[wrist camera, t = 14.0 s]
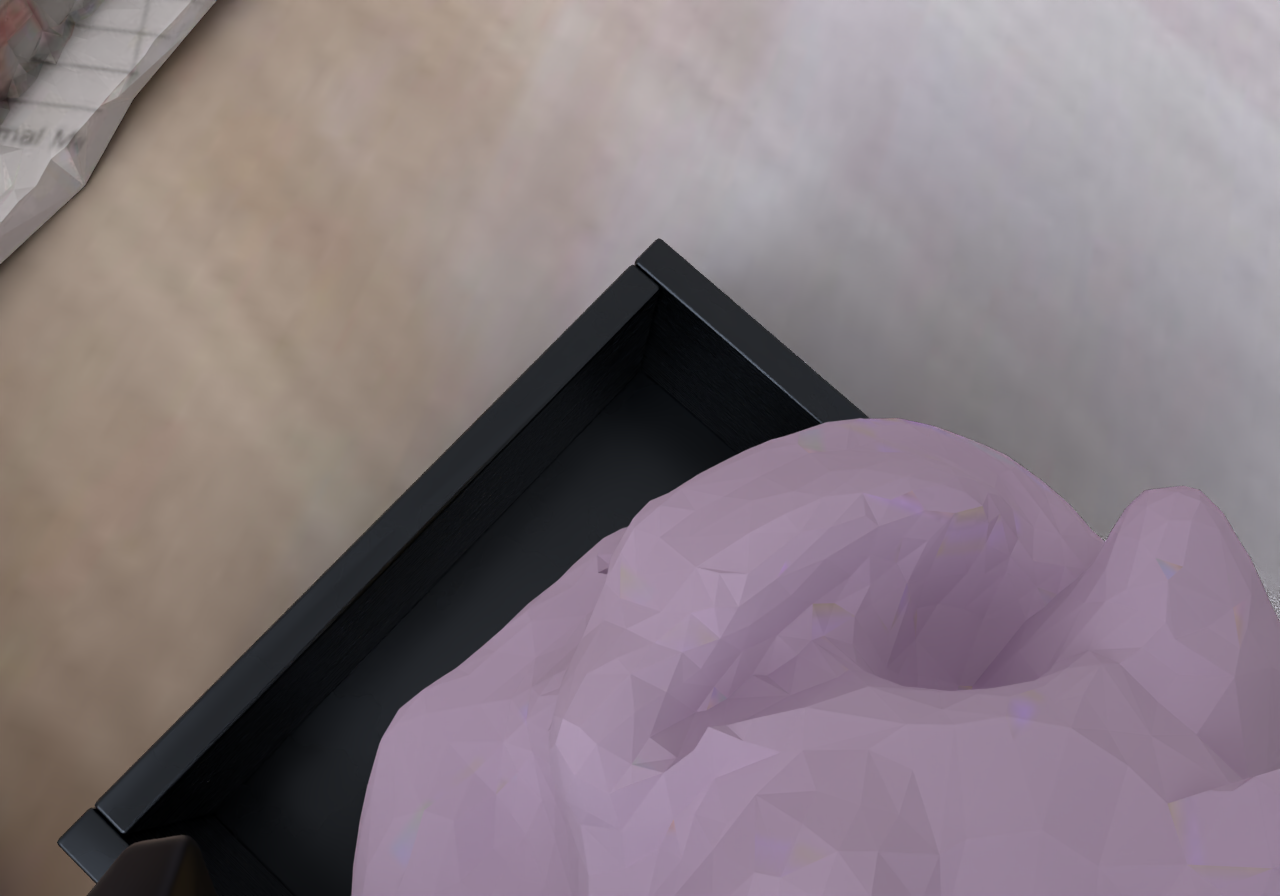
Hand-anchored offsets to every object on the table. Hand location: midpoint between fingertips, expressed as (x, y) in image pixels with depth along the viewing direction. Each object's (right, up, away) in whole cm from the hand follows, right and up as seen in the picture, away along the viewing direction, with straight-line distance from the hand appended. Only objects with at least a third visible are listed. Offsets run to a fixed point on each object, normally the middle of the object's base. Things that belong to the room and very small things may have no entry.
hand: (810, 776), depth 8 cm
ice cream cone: (-1, -4, +10) cm, 11 cm away
